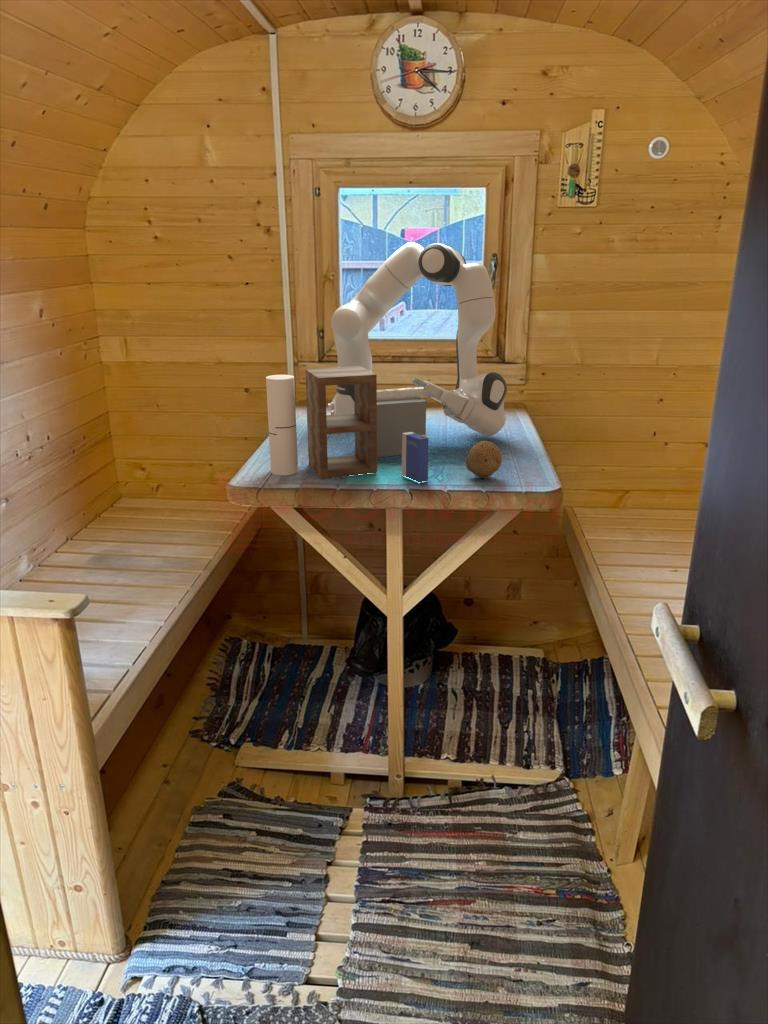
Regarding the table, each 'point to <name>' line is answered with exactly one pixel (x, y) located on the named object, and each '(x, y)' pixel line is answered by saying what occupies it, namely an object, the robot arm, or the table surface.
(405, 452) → the walkman
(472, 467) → the natural sponge
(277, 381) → the cylindrical container
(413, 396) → the tan bar
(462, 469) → the table surface
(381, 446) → the block
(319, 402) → the walnut shelf
